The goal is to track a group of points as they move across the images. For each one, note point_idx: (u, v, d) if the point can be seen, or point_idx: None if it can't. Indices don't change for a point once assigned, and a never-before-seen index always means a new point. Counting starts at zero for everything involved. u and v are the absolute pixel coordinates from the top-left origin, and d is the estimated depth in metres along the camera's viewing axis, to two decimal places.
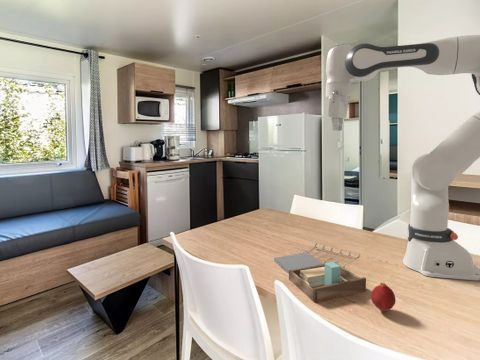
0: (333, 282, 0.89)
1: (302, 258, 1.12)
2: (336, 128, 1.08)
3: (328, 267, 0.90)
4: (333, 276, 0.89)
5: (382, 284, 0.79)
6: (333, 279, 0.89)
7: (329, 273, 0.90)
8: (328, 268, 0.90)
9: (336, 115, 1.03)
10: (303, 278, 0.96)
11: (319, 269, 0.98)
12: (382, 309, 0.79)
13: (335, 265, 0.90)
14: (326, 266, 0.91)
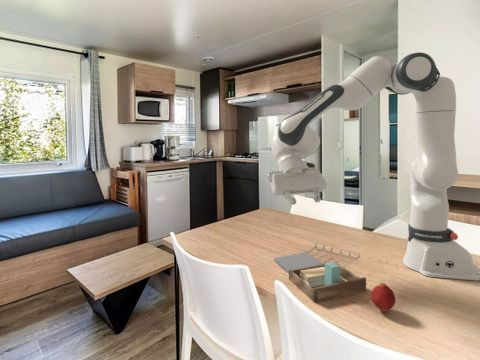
0: (333, 282, 0.89)
1: (302, 258, 1.12)
2: (291, 201, 1.01)
3: (328, 267, 0.90)
4: (333, 276, 0.89)
5: (382, 284, 0.79)
6: (333, 279, 0.89)
7: (329, 273, 0.90)
8: (328, 268, 0.90)
9: (277, 190, 1.01)
10: (303, 278, 0.96)
11: (319, 269, 0.98)
12: (382, 309, 0.79)
13: (335, 265, 0.90)
14: (326, 266, 0.91)
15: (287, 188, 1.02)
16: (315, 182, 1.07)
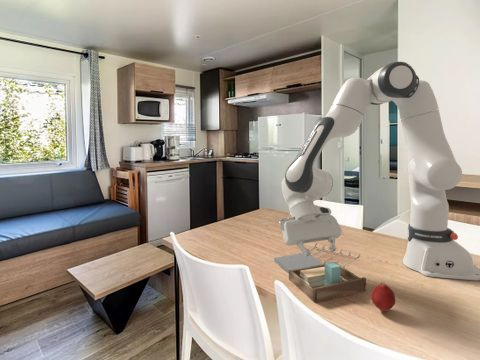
0: (333, 282, 0.89)
1: (302, 258, 1.12)
2: (305, 253, 0.94)
3: (328, 267, 0.90)
4: (333, 276, 0.89)
5: (382, 284, 0.79)
6: (333, 279, 0.89)
7: (329, 273, 0.90)
8: (328, 268, 0.90)
9: (289, 241, 0.95)
10: (303, 278, 0.96)
11: (319, 269, 0.98)
12: (382, 309, 0.79)
13: (335, 265, 0.90)
14: (326, 266, 0.91)
15: (300, 238, 0.96)
16: (330, 229, 1.00)
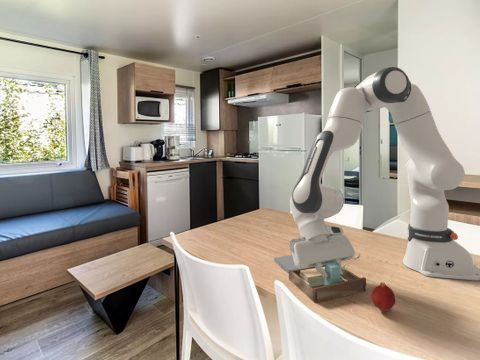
0: (333, 282, 0.89)
1: None
2: (324, 275, 0.90)
3: (328, 267, 0.90)
4: (333, 276, 0.89)
5: (382, 284, 0.79)
6: (333, 279, 0.89)
7: (329, 273, 0.90)
8: (328, 268, 0.90)
9: (300, 265, 0.89)
10: (303, 278, 0.96)
11: None
12: (382, 309, 0.79)
13: (335, 265, 0.90)
14: (326, 266, 0.91)
15: (312, 261, 0.90)
16: (342, 251, 0.95)
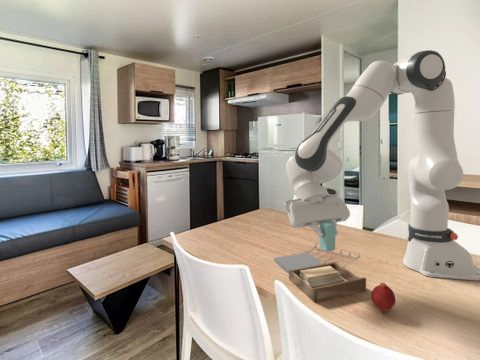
0: (328, 240, 0.90)
1: (302, 258, 1.12)
2: (320, 234, 0.90)
3: (323, 225, 0.91)
4: (328, 234, 0.90)
5: (382, 284, 0.79)
6: (328, 237, 0.90)
7: (324, 231, 0.91)
8: (324, 226, 0.90)
9: (296, 223, 0.90)
10: (303, 278, 0.96)
11: (319, 269, 0.98)
12: (382, 309, 0.79)
13: (330, 223, 0.91)
14: (321, 225, 0.92)
15: (307, 220, 0.91)
16: (337, 211, 0.95)
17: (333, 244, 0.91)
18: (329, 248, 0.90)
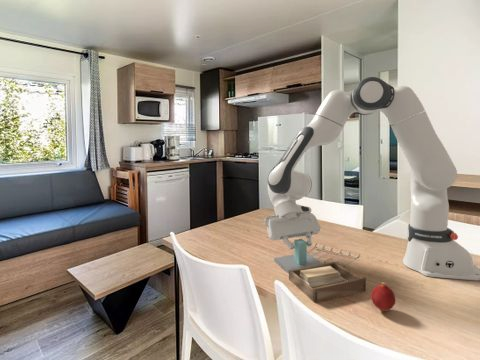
0: (300, 255, 1.07)
1: None
2: (290, 246, 1.07)
3: (296, 242, 1.08)
4: (300, 250, 1.07)
5: (382, 284, 0.79)
6: (301, 252, 1.07)
7: (297, 248, 1.08)
8: (297, 243, 1.07)
9: (273, 236, 1.07)
10: (303, 278, 0.96)
11: (319, 269, 0.98)
12: (382, 309, 0.79)
13: (302, 241, 1.08)
14: (295, 242, 1.09)
15: (283, 234, 1.08)
16: (309, 226, 1.12)
17: (305, 258, 1.08)
18: (301, 262, 1.07)
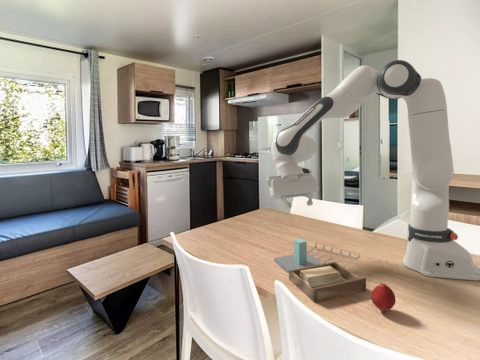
0: (300, 255, 1.07)
1: None
2: (287, 205, 1.14)
3: (296, 242, 1.08)
4: (300, 250, 1.07)
5: (382, 284, 0.79)
6: (301, 252, 1.07)
7: (297, 248, 1.08)
8: (297, 243, 1.07)
9: (275, 195, 1.14)
10: (303, 278, 0.96)
11: (319, 269, 0.98)
12: (382, 309, 0.79)
13: (302, 241, 1.08)
14: (295, 242, 1.09)
15: (284, 193, 1.15)
16: (309, 187, 1.19)
17: (305, 258, 1.08)
18: (301, 262, 1.07)
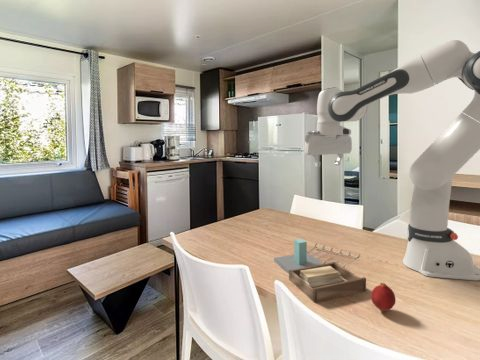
0: (300, 255, 1.07)
1: None
2: (316, 165, 1.19)
3: (296, 242, 1.08)
4: (300, 250, 1.07)
5: (382, 284, 0.79)
6: (301, 252, 1.07)
7: (297, 248, 1.08)
8: (297, 243, 1.07)
9: (308, 154, 1.17)
10: (303, 278, 0.96)
11: (319, 269, 0.98)
12: (382, 309, 0.79)
13: (302, 241, 1.08)
14: (295, 242, 1.09)
15: (317, 153, 1.17)
16: (342, 148, 1.21)
17: (305, 258, 1.08)
18: (301, 262, 1.07)
